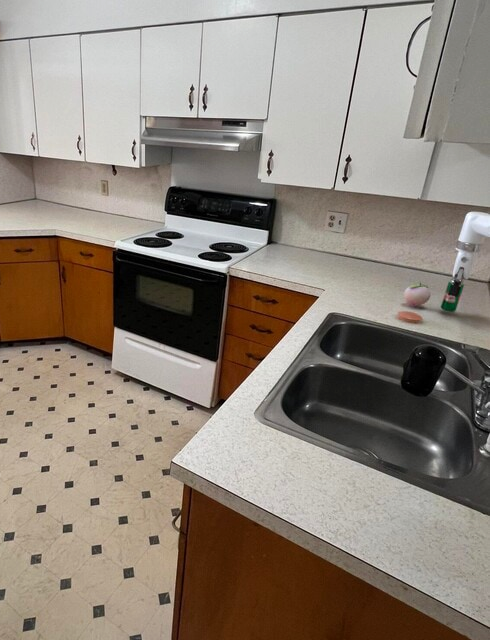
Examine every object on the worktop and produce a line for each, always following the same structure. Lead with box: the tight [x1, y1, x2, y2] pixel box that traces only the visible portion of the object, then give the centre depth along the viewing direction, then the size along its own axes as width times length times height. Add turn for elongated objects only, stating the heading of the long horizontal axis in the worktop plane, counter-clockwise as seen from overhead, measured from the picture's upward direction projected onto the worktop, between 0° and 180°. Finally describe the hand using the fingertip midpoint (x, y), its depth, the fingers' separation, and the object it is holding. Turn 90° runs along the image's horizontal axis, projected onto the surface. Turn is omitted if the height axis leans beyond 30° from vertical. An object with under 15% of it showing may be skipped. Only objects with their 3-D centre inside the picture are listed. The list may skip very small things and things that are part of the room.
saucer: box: [396, 310, 423, 324], centre depth 157 cm, size 8×8×1 cm
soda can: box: [440, 277, 465, 313], centre depth 161 cm, size 5×5×12 cm
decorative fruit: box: [403, 282, 432, 307], centre depth 168 cm, size 9×8×10 cm
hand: (453, 293), depth 161 cm, fingers closed on soda can, 5 cm apart
